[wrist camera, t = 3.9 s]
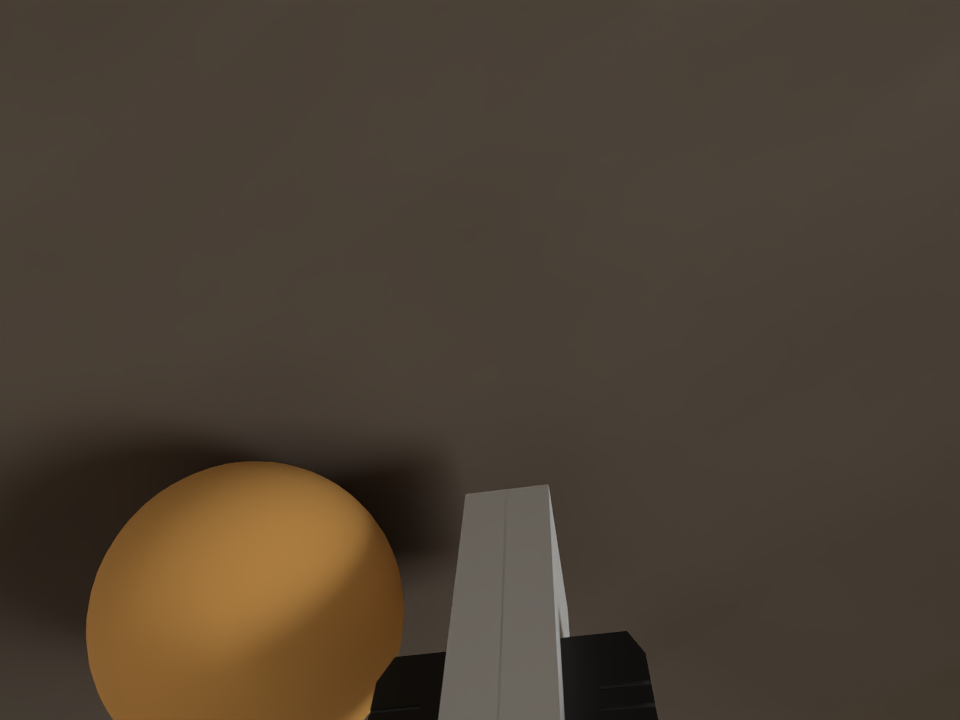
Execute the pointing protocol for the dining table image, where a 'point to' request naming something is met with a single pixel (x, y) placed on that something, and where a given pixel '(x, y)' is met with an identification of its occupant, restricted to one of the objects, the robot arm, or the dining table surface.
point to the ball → (245, 601)
